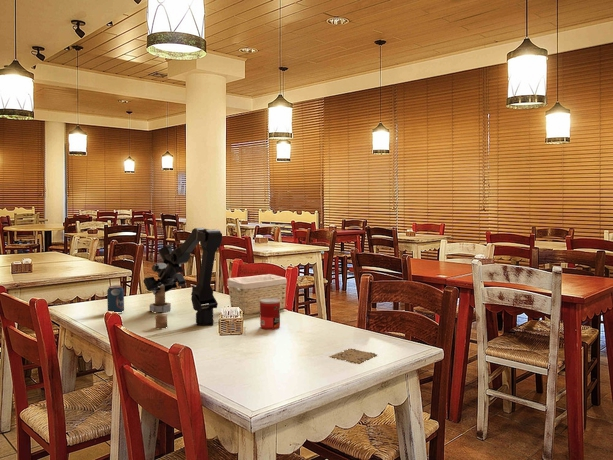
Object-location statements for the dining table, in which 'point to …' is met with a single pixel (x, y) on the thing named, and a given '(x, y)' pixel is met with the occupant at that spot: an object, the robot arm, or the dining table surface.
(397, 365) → the dining table surface
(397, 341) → the dining table surface
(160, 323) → the short walnut peg
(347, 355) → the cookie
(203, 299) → the robot arm
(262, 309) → the canned food
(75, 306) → the dining table surface
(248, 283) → the storage basket
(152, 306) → the steel ring socket
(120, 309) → the soda can
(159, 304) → the tall walnut peg
